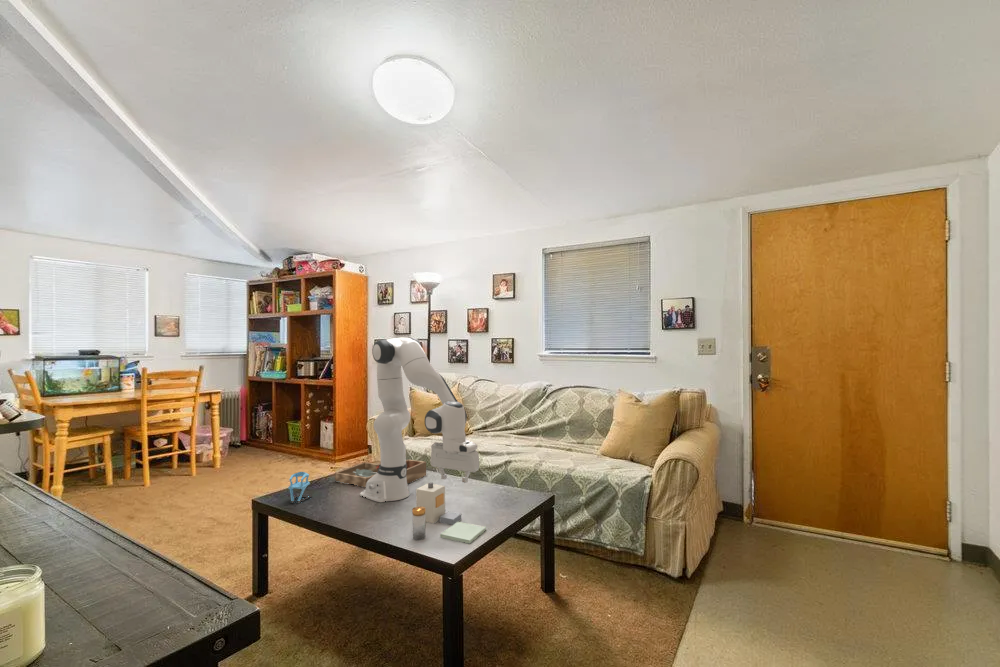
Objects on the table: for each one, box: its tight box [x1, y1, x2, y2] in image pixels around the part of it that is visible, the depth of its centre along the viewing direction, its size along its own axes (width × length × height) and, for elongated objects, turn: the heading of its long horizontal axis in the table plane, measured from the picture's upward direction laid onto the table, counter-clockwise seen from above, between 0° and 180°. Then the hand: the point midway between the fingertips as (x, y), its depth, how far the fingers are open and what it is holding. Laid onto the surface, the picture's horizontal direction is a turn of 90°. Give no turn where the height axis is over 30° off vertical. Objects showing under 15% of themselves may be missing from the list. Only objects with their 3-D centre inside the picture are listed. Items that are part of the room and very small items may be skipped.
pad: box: [439, 521, 487, 544], centre depth 163 cm, size 12×12×1 cm
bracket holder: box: [406, 459, 427, 485], centre depth 227 cm, size 11×18×7 cm, turn 154°
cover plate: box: [439, 510, 462, 526], centre depth 175 cm, size 6×6×2 cm
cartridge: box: [411, 506, 426, 541], centre depth 161 cm, size 5×5×10 cm
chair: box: [287, 471, 311, 502], centre depth 198 cm, size 8×8×12 cm
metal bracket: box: [354, 469, 376, 477], centre depth 229 cm, size 14×6×15 cm
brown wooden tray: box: [334, 462, 381, 488], centre depth 229 cm, size 21×21×4 cm
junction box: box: [415, 482, 446, 524], centre depth 177 cm, size 8×8×14 cm
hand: (454, 480), depth 173 cm, fingers open, 8 cm apart
